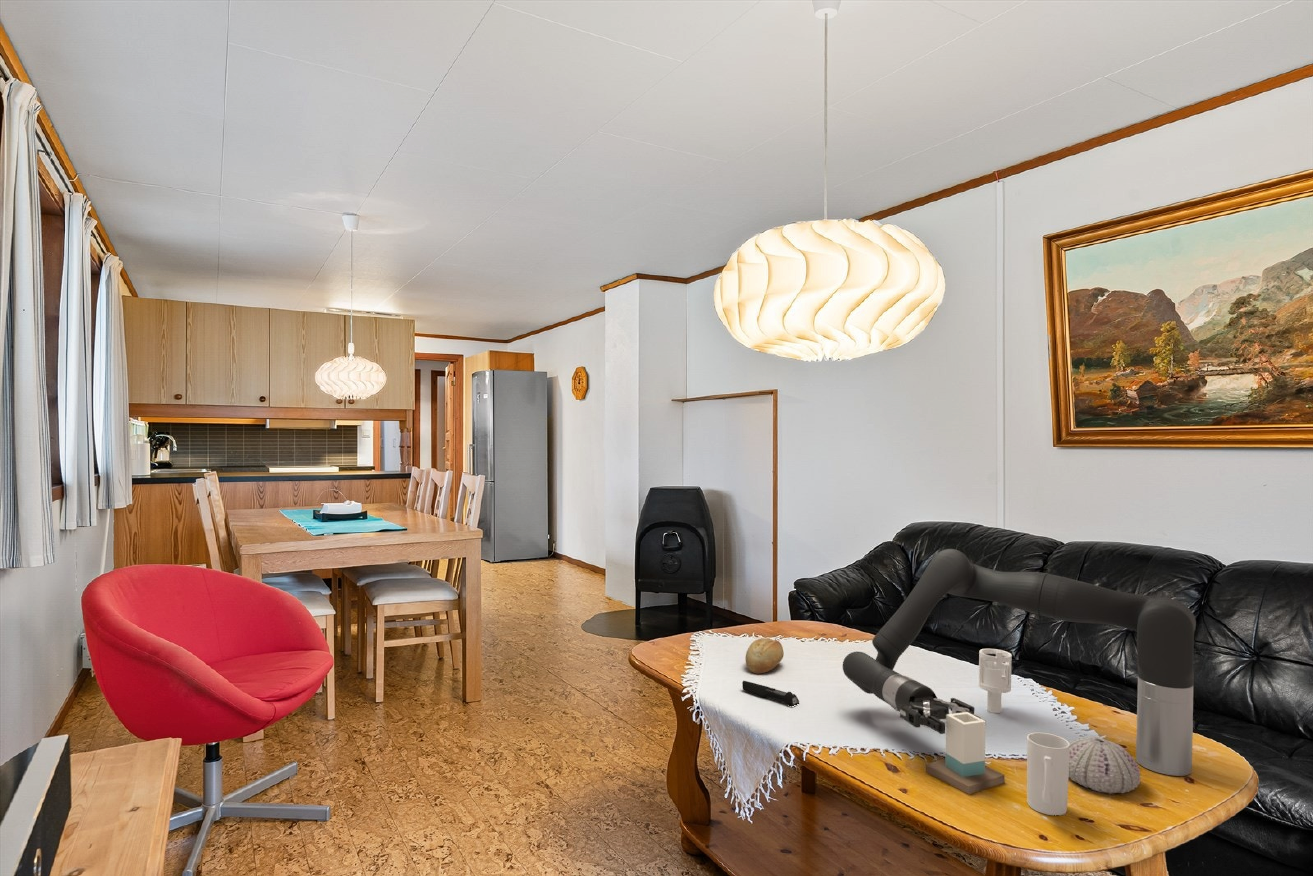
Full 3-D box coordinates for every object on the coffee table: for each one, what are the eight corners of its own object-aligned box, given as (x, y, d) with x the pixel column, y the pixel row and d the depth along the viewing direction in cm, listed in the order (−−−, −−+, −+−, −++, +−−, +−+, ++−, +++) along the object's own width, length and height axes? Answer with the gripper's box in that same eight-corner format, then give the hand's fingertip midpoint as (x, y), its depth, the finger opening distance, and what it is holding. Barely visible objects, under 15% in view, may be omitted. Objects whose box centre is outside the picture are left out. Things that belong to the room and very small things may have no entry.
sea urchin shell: (1156, 789, 140) (1157, 747, 140) (1113, 806, 134) (1114, 761, 134) (1087, 761, 152) (1087, 722, 152) (1045, 775, 146) (1045, 734, 146)
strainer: (982, 715, 175) (983, 651, 175) (974, 704, 182) (975, 643, 182) (1014, 717, 174) (1015, 653, 174) (1005, 706, 181) (1006, 644, 181)
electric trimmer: (747, 690, 192) (747, 678, 192) (800, 705, 181) (800, 692, 181) (739, 694, 189) (739, 681, 189) (792, 709, 178) (792, 696, 178)
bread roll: (789, 663, 213) (790, 635, 213) (773, 678, 199) (774, 648, 199) (757, 657, 217) (757, 630, 217) (739, 673, 204) (740, 643, 203)
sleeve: (966, 762, 147) (967, 711, 147) (984, 773, 142) (985, 721, 142) (945, 765, 146) (946, 714, 145) (963, 777, 141) (964, 724, 141)
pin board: (960, 761, 151) (961, 729, 151) (1004, 782, 142) (1005, 748, 142) (925, 772, 146) (926, 739, 146) (968, 794, 137) (969, 759, 137)
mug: (1026, 794, 138) (1027, 729, 137) (1068, 803, 135) (1069, 737, 134) (1024, 819, 129) (1025, 750, 129) (1068, 829, 126) (1070, 759, 125)
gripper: (880, 682, 158) (932, 711, 142) (936, 676, 162) (992, 703, 147) (880, 718, 158) (931, 750, 142) (936, 710, 162) (991, 741, 147)
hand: (962, 726), depth 145 cm, fingers open, 8 cm apart
